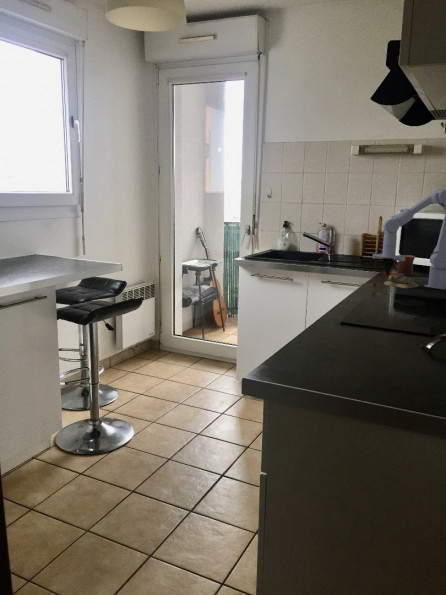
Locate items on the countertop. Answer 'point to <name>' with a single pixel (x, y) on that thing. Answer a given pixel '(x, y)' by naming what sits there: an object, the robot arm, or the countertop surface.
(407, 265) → the mug
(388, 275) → the valve lever
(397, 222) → the robot arm
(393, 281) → the valve board
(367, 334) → the countertop surface
